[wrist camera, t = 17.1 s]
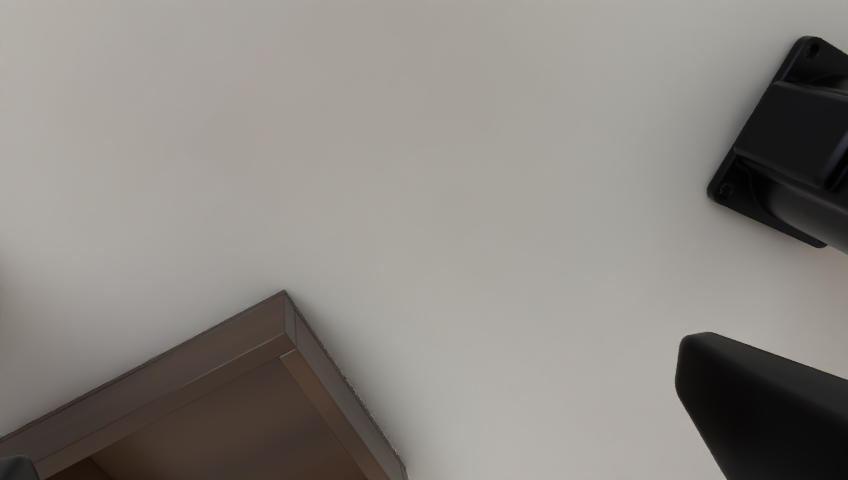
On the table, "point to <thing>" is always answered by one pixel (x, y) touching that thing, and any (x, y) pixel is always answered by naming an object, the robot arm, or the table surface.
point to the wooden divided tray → (218, 413)
